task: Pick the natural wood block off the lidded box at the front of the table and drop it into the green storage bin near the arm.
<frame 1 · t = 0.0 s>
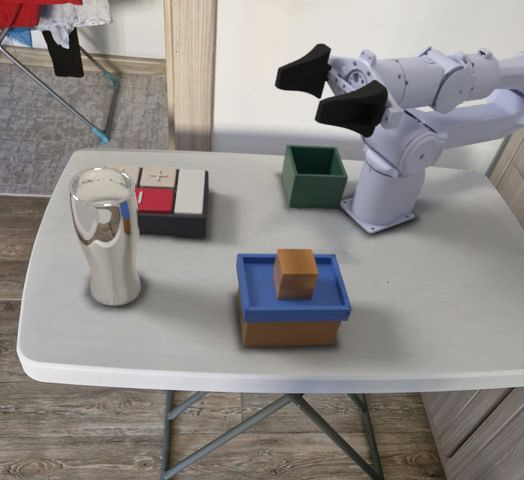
hand: (297, 94, 57), 22 cm above the table, tool horizontal, fingers open, 7 cm apart
green storage bin: (309, 191, 83), on the table
lidded box: (283, 320, 66), on the table
calculator: (154, 211, 76), on the table
beer glass: (116, 289, 66), on the table
block: (291, 286, 61), point 6 cm above the table, touching lidded box
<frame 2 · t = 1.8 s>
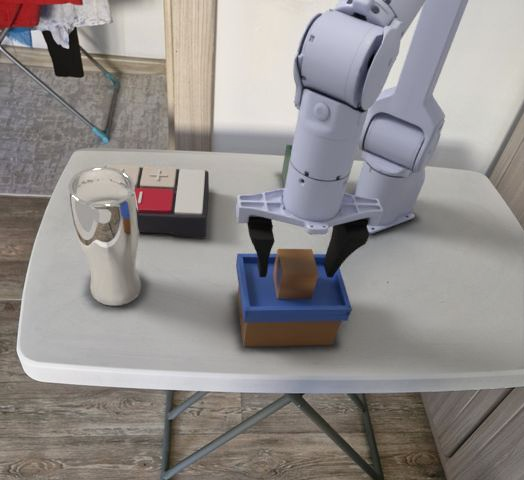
hand: (295, 271, 59), 9 cm above the table, tool pointing down, fingers open, 7 cm apart
nothing on the table moved.
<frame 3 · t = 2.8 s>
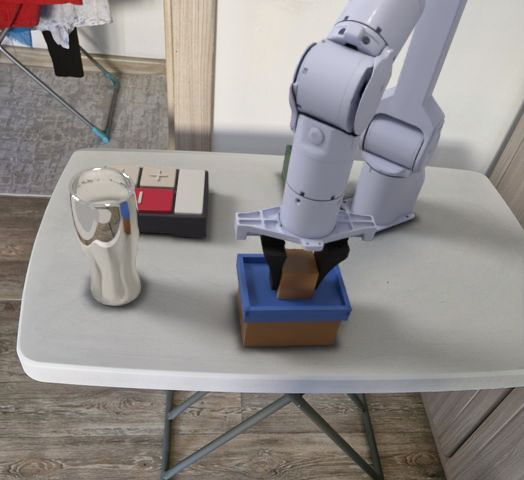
hand: (292, 284, 61), 6 cm above the table, tool pointing down, fingers closed on block, 4 cm apart
block: (292, 286, 61), point 6 cm above the table, touching gripper, lidded box
everything else where it was.
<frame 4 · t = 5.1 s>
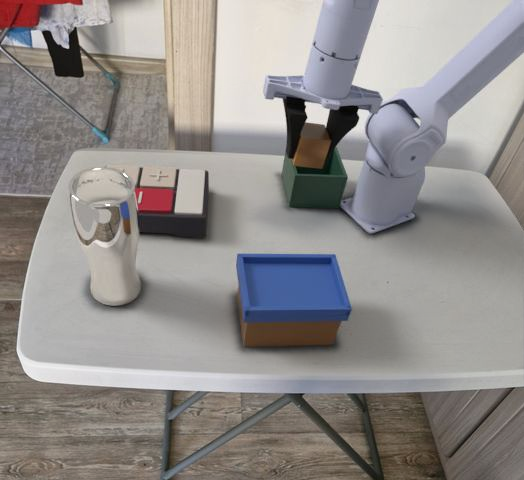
hand: (305, 156, 70), 10 cm above the table, tool pointing down, fingers closed on block, 4 cm apart
block: (305, 158, 70), point 10 cm above the table, touching gripper
everything else where it was.
when the fingers open (5 cm above the table, at t = 7.8 s): block drops 5 cm, resting on green storage bin.
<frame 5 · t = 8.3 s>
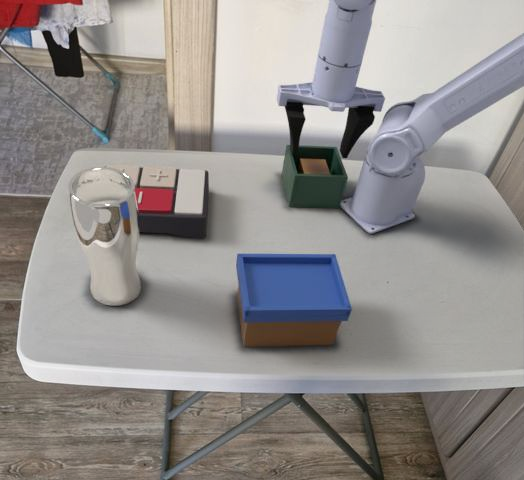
hand: (318, 153, 78), 7 cm above the table, tool pointing down, fingers open, 7 cm apart
block: (310, 188, 83), resting on green storage bin
everything else where it was.
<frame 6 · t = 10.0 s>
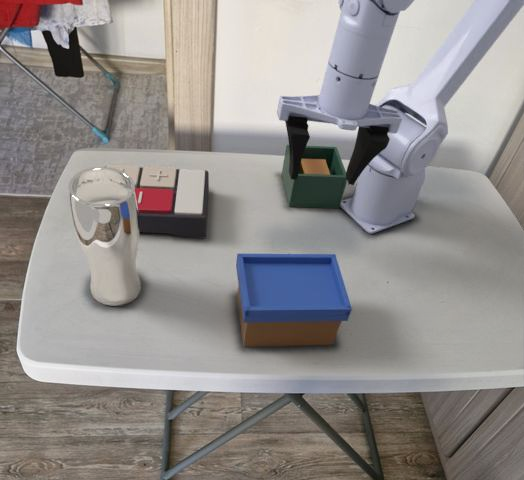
hand: (321, 177, 67), 10 cm above the table, tool pointing down, fingers open, 7 cm apart
nothing on the table moved.
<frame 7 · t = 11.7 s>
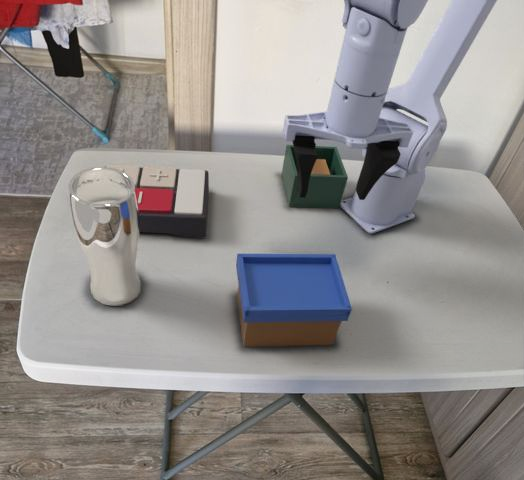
hand: (330, 194, 66), 10 cm above the table, tool pointing down, fingers open, 7 cm apart
nothing on the table moved.
at the end: block 0.0 cm off-centre in the green storage bin, point 0.5 cm above the green storage bin's base; the gripper is holding nothing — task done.
